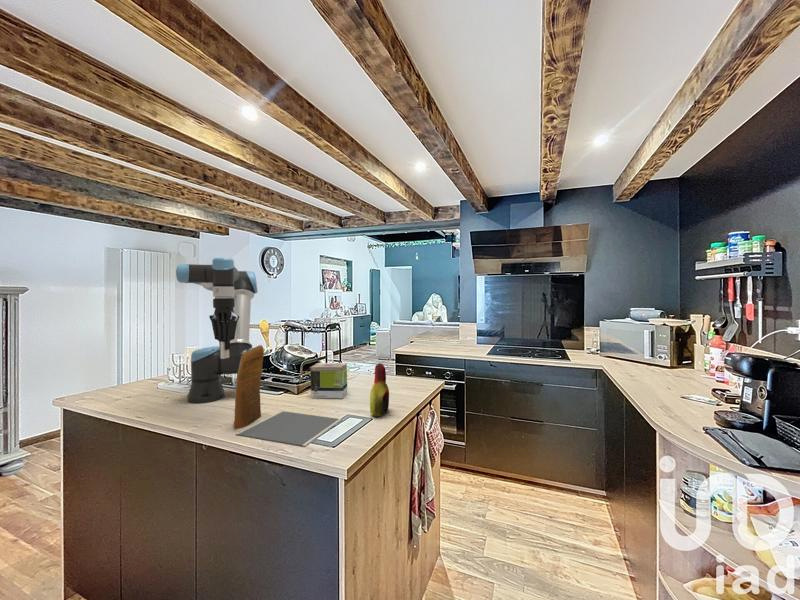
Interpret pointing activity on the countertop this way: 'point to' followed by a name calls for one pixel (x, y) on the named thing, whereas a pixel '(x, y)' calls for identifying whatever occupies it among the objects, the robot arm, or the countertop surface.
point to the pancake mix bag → (248, 387)
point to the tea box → (329, 380)
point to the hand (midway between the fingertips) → (224, 357)
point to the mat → (290, 428)
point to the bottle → (379, 392)
